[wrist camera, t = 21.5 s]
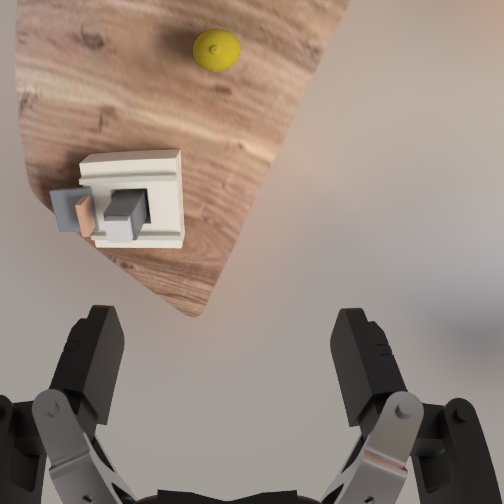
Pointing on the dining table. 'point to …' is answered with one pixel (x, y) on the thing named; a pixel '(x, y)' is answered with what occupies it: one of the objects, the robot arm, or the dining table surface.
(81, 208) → the panel
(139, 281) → the dining table surface
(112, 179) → the socket
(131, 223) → the plug
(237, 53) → the lemon
